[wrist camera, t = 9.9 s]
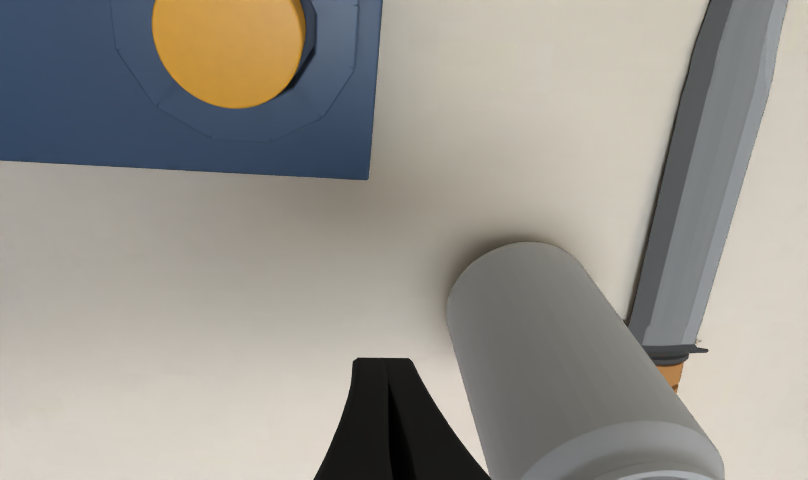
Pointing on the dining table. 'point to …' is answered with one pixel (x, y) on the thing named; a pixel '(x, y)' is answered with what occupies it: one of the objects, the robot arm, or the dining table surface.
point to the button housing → (180, 95)
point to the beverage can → (564, 377)
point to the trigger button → (230, 47)
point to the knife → (704, 175)
